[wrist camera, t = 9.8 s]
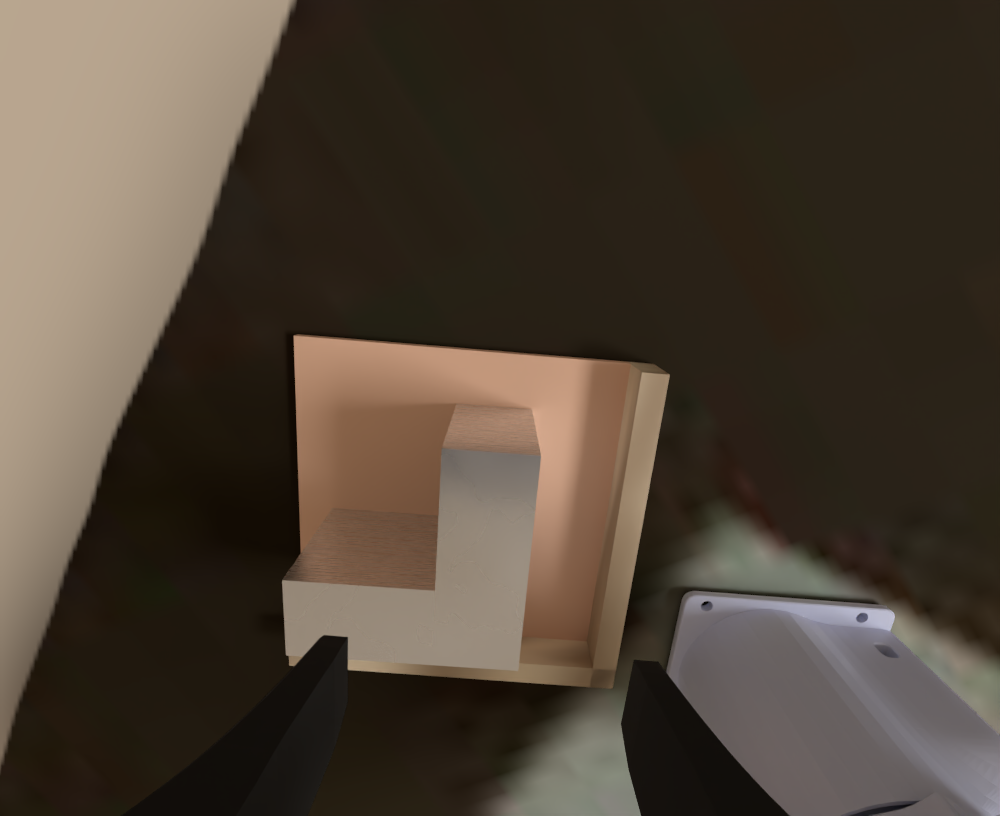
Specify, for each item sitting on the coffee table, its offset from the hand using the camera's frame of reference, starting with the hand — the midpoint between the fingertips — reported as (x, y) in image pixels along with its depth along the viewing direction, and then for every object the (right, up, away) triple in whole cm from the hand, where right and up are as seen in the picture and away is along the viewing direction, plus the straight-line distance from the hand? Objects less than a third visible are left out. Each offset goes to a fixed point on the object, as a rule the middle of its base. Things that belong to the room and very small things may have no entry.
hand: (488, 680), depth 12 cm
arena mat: (-1, +2, +9) cm, 9 cm away
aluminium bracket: (-3, +3, +8) cm, 9 cm away
